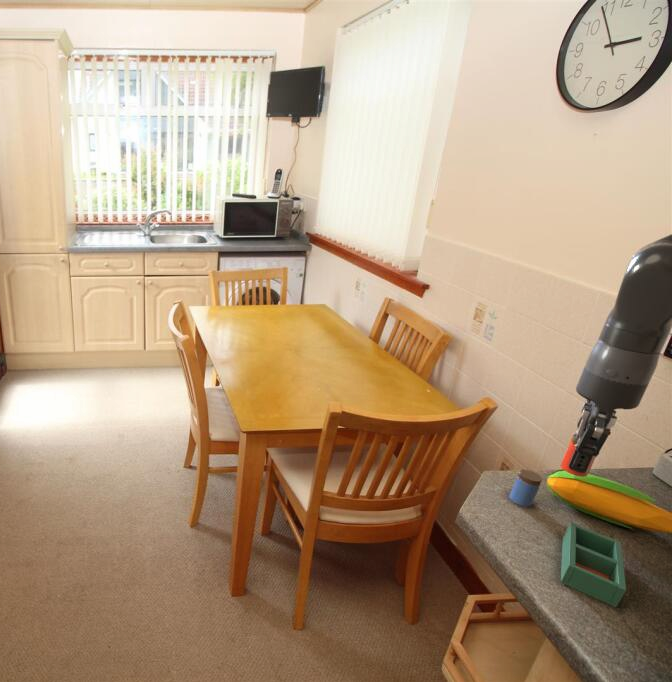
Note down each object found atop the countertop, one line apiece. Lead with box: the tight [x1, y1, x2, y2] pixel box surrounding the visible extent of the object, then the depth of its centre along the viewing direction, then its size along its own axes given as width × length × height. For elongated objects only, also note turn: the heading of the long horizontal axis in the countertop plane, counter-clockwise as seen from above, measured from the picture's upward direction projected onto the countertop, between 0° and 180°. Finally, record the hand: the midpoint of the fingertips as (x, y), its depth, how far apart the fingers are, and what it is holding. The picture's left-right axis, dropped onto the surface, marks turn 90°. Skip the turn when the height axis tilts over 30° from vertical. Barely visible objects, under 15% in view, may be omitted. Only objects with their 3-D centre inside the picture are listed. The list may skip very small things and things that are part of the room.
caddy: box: [560, 521, 627, 608], centre depth 76 cm, size 7×12×4 cm, turn 140°
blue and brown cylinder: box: [508, 468, 543, 508], centre depth 91 cm, size 4×4×6 cm
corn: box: [546, 469, 672, 534], centre depth 87 cm, size 7×8×20 cm
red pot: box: [560, 433, 596, 477], centre depth 79 cm, size 4×4×6 cm
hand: (576, 463), depth 79 cm, fingers closed on red pot, 3 cm apart
